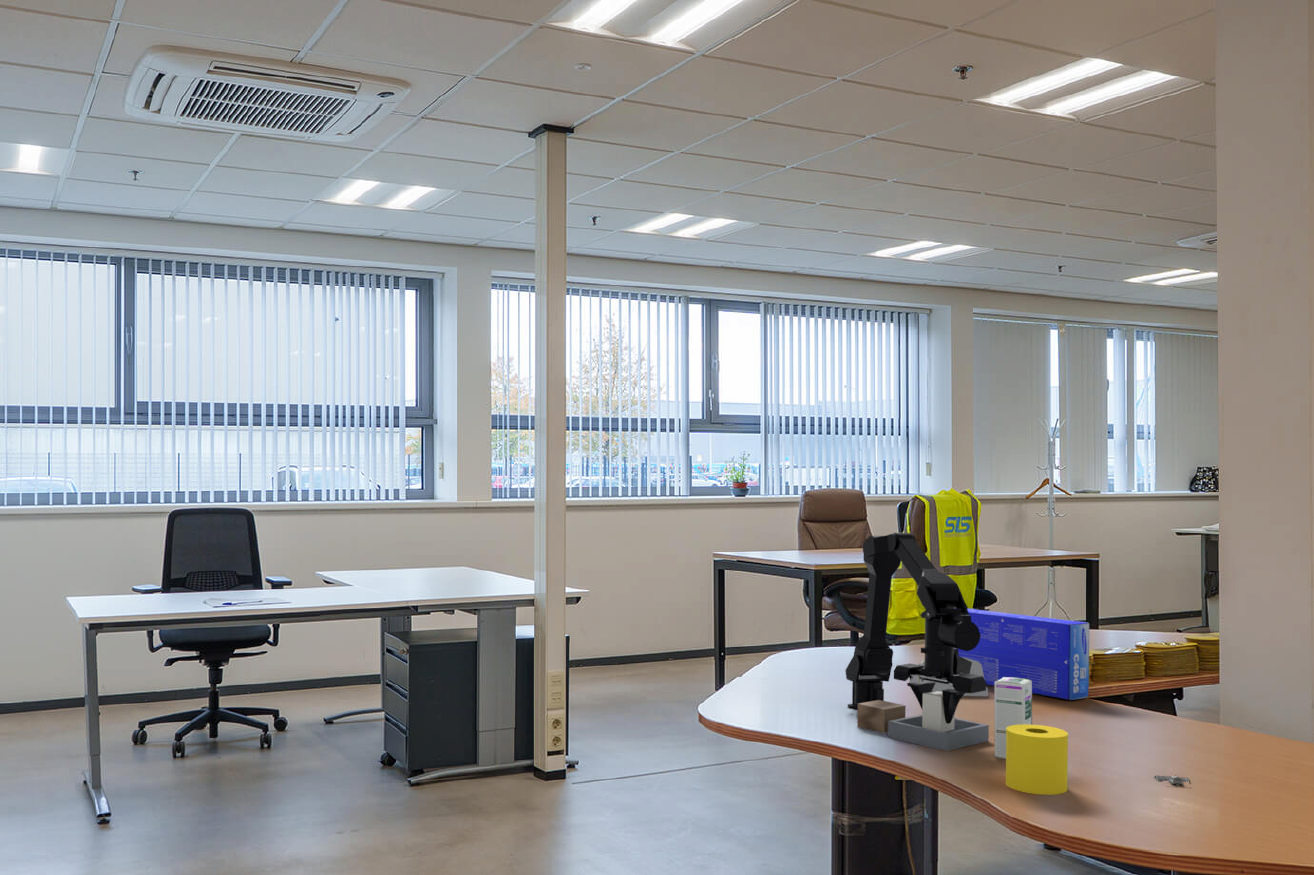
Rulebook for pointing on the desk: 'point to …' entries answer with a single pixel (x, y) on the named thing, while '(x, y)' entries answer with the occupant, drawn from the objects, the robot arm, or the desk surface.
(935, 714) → the small block
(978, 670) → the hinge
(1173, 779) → the grey flat piece
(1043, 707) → the desk surface
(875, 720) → the oversize block
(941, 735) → the sorting tray
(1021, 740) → the yellow paper roll
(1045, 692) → the toner cartridge box
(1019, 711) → the syrup box
